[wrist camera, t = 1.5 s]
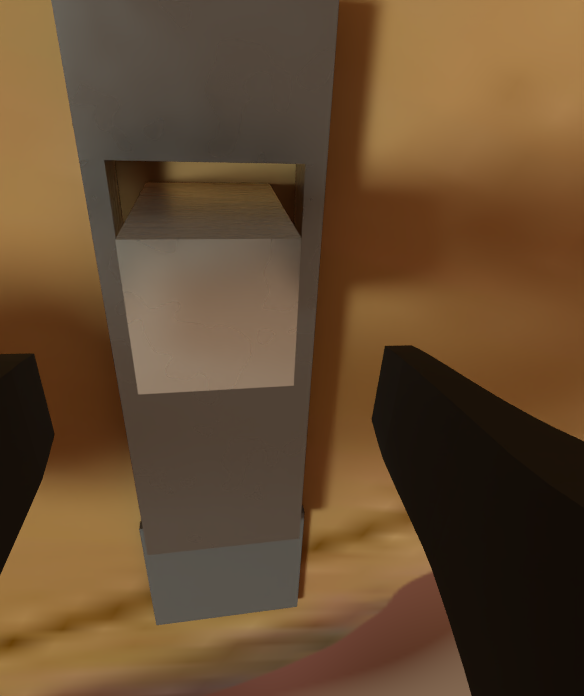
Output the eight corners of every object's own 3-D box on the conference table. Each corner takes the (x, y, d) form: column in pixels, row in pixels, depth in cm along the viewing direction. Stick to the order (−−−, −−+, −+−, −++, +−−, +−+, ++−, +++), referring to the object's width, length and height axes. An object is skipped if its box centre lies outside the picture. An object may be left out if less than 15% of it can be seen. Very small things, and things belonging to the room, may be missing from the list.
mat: (157, 617, 30) (156, 625, 30) (140, 521, 26) (139, 529, 25) (295, 599, 31) (296, 606, 31) (302, 505, 27) (304, 512, 27)
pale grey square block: (158, 295, 19) (138, 394, 13) (146, 181, 17) (115, 239, 11) (267, 292, 20) (293, 385, 14) (269, 183, 18) (301, 238, 12)
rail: (150, 526, 26) (147, 555, 24) (63, -21, 14) (45, -33, 12) (294, 512, 27) (299, 538, 26) (325, -1, 15) (339, -10, 14)
